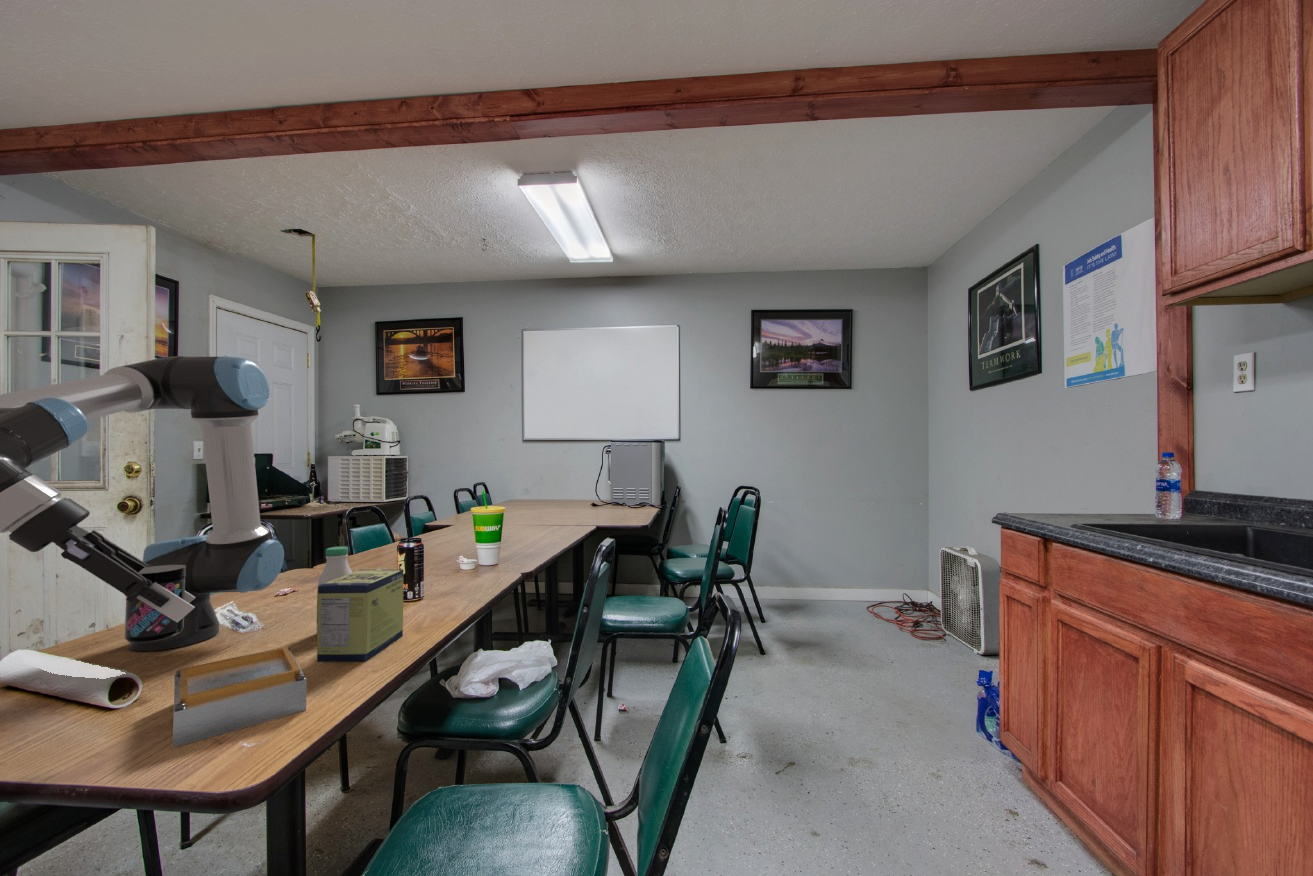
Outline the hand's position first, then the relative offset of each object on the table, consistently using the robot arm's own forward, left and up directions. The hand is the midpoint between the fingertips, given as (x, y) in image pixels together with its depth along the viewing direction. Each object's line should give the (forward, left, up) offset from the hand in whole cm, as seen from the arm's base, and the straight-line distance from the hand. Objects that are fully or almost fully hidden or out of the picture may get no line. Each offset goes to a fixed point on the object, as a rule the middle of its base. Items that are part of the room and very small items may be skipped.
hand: (186, 609), depth 83 cm
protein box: (-14, +29, -17) cm, 37 cm away
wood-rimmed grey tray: (+2, +7, -17) cm, 19 cm away
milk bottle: (-30, +27, -17) cm, 44 cm away
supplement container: (0, -4, -4) cm, 5 cm away
